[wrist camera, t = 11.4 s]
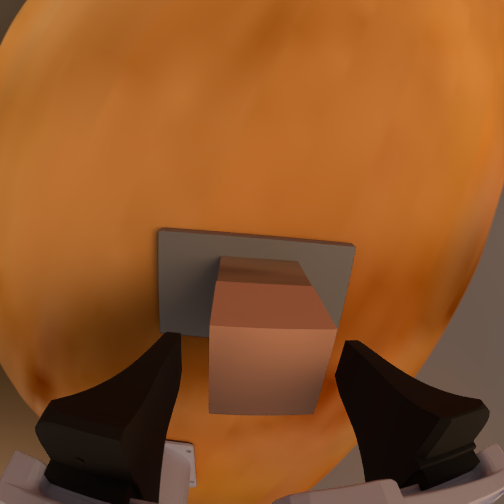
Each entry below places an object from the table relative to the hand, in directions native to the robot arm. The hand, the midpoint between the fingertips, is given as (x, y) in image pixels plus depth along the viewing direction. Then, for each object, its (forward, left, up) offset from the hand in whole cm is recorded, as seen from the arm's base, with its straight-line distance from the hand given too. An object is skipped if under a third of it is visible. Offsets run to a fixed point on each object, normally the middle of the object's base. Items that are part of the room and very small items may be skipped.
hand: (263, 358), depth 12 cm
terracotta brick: (0, 0, -3) cm, 3 cm away
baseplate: (0, 0, -7) cm, 7 cm away
